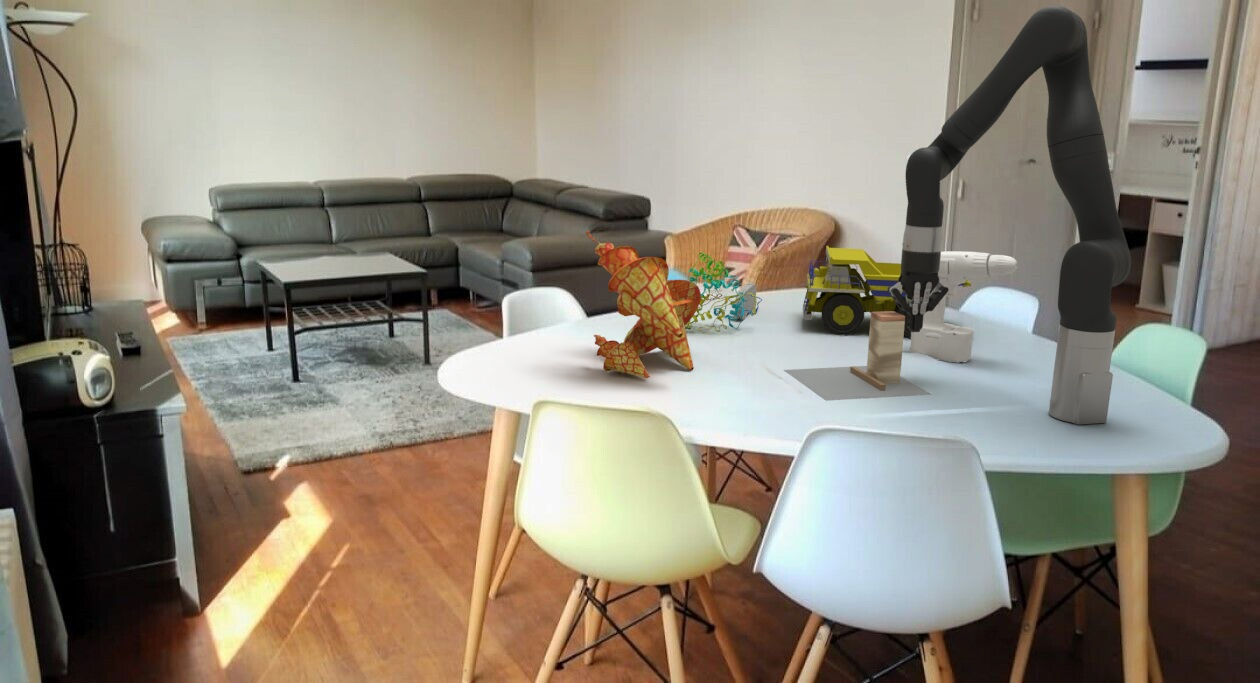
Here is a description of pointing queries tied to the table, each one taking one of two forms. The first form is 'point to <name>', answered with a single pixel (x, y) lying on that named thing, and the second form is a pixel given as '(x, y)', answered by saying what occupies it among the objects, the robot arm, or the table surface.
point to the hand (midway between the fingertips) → (914, 331)
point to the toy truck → (851, 290)
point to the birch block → (885, 346)
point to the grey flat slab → (750, 300)
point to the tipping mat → (851, 383)
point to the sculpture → (646, 309)
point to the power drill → (953, 271)
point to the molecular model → (717, 285)
